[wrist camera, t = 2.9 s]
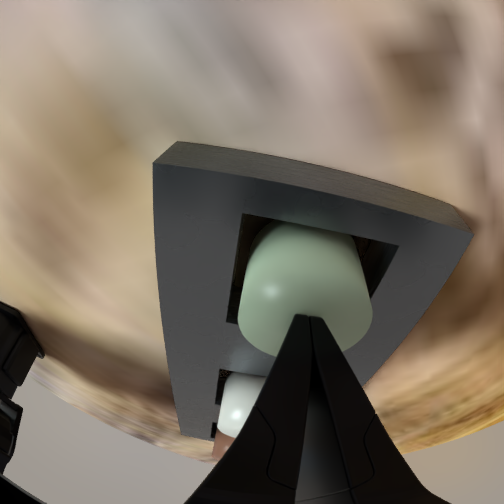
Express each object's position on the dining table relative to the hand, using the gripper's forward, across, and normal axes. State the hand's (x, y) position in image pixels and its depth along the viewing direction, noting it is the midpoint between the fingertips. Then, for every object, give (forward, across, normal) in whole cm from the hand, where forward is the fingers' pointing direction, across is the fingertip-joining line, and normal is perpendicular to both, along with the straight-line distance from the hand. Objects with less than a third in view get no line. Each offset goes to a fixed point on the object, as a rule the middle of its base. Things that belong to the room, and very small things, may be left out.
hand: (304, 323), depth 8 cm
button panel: (+3, 0, +8) cm, 9 cm away
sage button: (+3, 0, 0) cm, 3 cm away
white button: (+2, 0, +9) cm, 9 cm away
